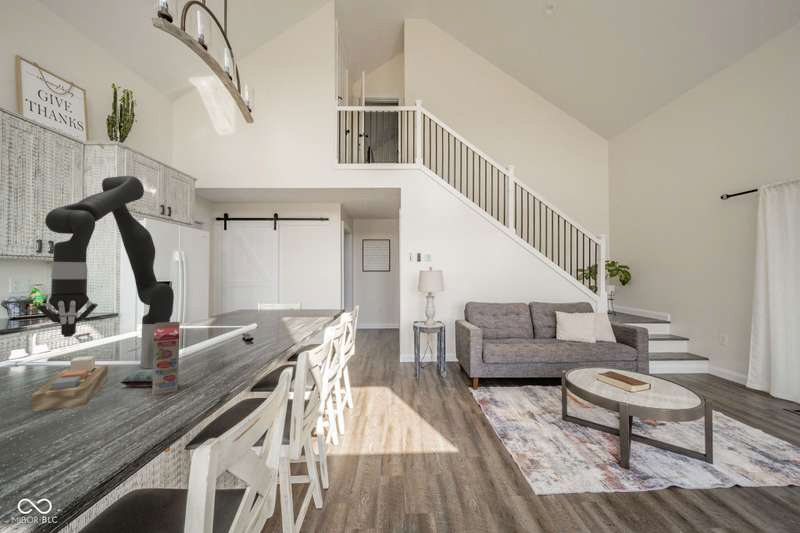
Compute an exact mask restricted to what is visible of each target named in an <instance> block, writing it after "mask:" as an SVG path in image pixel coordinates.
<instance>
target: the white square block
mask: <svg viewBox="0 0 800 533" xmlns="http://www.w3.org/2000/svg"><path fill="white" fill-rule="evenodd" d="M69 365H70V368H69V369H70V371H76V370H87V369H88V372H89V371H92V370H93V369H94V368H95V367H96V356H95V355H88V356H78V357H74V358H73V359H71V360H70V364H69Z"/></svg>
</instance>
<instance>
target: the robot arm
mask: <svg viewBox="0 0 800 533" xmlns="http://www.w3.org/2000/svg"><path fill="white" fill-rule="evenodd" d="M101 187H102V191H101V192H98V193H95V194H92V195H91V194H90V195H89V196H86V197H85V198H84V199H81V200H80V201H78V202H75V203H71V204H67V205H63V206H59V207H57V208H54V209H52V210H51V211H49V212H48V213H47V214H46V216H45V220H44V221H45V225H46V227H47V229H48V230H49V231H52V232H54V233H57V234H65V235H66V234H69V235H71V237H70V238H69V239H68V240H65V241H58V242H56V243H54V245H53V258H52V259H53V260H52V261H53V262H52V267H51V274H50V277H51V284H50V285H51V287H50V289H51V290H50V297H49V299H48V301H47V302H46V303H44V304H43V305H39V306H38V310H39V311H40V312H41V313H42V314H43V315H45V316H46V317H47V318H48V319H49V320H50V321H51V322H52V323H55V324H57V323H58V324H60V325H61V328H60V330H61V333H60V334H61V336H63V337H64V338H70V337H73V335H75V334H76V332H77V323H78V322H82V321H84V320H85V319H86V318H88V316H89V315H90V314H91V313H93V311H94V310H95V309H96V308H98V305H99V304H97V303H94V302H92V301H90V298H89V297H88V266H87V257H88V256H87V255H88V254H87V252H88V251H87V250H88V247H89V244H90V241H91V239H92V236H93V234H94V231H95V228H96V223H97V222H98V221H99V220H101V219H103V218H104V217H105V216H106V215H109V214H110V213H112V215H113V217H114V220H115V222H116V225H117V229H118V230H119V233H120V237H121V240H122V244H123V247H124V249H125V252H126V255H127V258H128V261H129V264H130V267H131V271H132V274H133V278H134V281H135V287H136V292H137V295H138V299H139V300H140V302H141V303H143V305H147V306H148V307H149V308H148V312H147V313H146V314H145V315H143V316H142V318H141V340H140V341H141V345H140V346H141V348H140V367H141V368H143V369H153V357H154V333H155V323H163V322H171V318H172V315H173V313H174V312H173V311H174V302H175V300H174V299H175V295H174V294H175V292H174V290H173V288H172V286H171V285H170V284H167V283H162V282H161V283H160V282H158V280H157V278H156V275H155V271H154V264H155V258H156V247H155V244H154V241H153V237H152V235H151V233H150V231H149V230H148V229H147V228H146V227H145V226H144V225H143V224H141V223H140V222H139V221H138V220H137V219H135V217H134V216H133V215H132V214H131V212H130V211H129V209H128V207H127V204H129V203H132V202H136V201H138V200H140V199H142V198H143V196H144V193H145V189H144V185H143V183H142V181H141V180H140V179H139V178H137V177H136V176H133V175H122V176H121V175H120V176H119V175H118V176H109V177H106V178H104V179H103V180H102V182H101ZM83 307H85V310H84V311H83V312H82V313H81V314H80V315H79V316H78V314H79V311H81V309H83ZM53 308H54V310H56V311H57V312H58V313H59V314H56V312H54V311H53Z"/></svg>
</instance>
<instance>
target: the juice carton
mask: <svg viewBox="0 0 800 533" xmlns="http://www.w3.org/2000/svg"><path fill="white" fill-rule="evenodd" d="M180 326H181V325H180V321H170V322H163V323H155V333H154V357H153V368H152V370H153V386H152V394H151V395H152V396H154V395H155V396H156V395H161V394H167V393H176V392H178V391H179V365H180V364H179V360H180Z"/></svg>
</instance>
